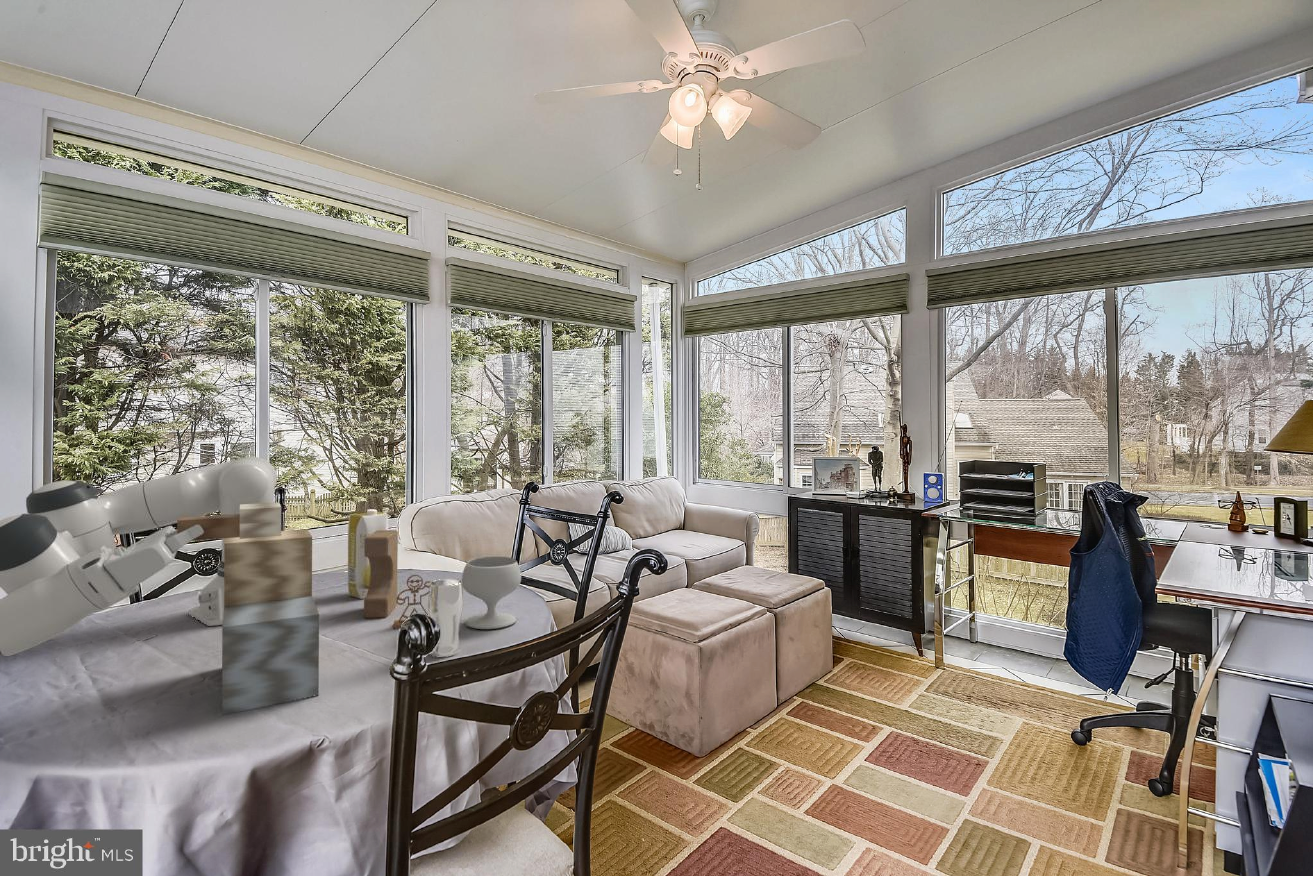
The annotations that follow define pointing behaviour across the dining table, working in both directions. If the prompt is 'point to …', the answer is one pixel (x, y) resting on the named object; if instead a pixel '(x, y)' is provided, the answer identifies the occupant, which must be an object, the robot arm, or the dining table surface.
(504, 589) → the chalice
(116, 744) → the dining table surface
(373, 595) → the decorative block
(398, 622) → the gingerbread man figurine
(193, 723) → the dining table surface
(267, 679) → the step stand
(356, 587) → the juice carton
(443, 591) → the beer glass
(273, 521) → the brown rectangular block
